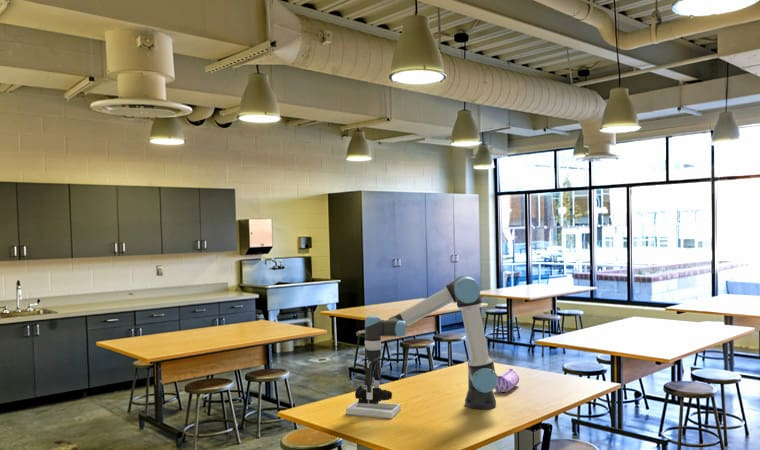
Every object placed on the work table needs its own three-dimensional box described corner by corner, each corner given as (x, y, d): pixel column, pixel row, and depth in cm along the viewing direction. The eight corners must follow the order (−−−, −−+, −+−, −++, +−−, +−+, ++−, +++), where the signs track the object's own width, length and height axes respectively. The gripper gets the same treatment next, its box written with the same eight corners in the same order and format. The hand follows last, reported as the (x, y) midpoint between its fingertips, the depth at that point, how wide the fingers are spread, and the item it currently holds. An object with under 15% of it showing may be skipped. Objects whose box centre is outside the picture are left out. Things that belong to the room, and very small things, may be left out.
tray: (400, 410, 287) (400, 404, 287) (391, 419, 273) (391, 412, 273) (357, 406, 294) (357, 400, 294) (345, 414, 281) (345, 408, 281)
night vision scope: (391, 408, 282) (387, 399, 274) (355, 407, 286) (350, 397, 279) (394, 393, 287) (389, 383, 279) (358, 391, 291) (353, 382, 284)
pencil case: (503, 384, 338) (503, 367, 338) (520, 385, 334) (520, 368, 334) (492, 393, 318) (492, 375, 319) (510, 395, 314) (509, 377, 315)
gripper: (373, 344, 296) (373, 390, 295) (357, 352, 275) (357, 401, 275) (387, 345, 293) (387, 391, 293) (372, 353, 273) (372, 403, 272)
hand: (373, 396), depth 284 cm, fingers closed on night vision scope, 9 cm apart
